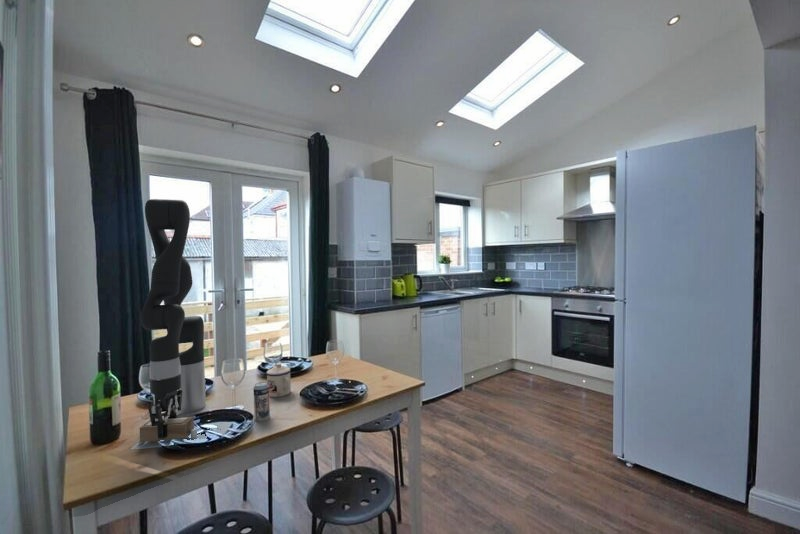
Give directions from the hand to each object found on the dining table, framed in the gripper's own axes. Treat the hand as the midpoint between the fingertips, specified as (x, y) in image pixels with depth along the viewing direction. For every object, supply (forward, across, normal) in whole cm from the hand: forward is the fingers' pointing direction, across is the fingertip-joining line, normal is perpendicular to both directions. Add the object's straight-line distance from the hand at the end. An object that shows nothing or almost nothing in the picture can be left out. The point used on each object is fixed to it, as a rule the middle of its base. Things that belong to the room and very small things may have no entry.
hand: (167, 432), depth 103 cm
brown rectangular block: (+1, 0, 0) cm, 1 cm away
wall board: (+3, -3, +3) cm, 5 cm away
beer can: (+3, -11, +23) cm, 26 cm away
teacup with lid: (+3, -35, +24) cm, 43 cm away
